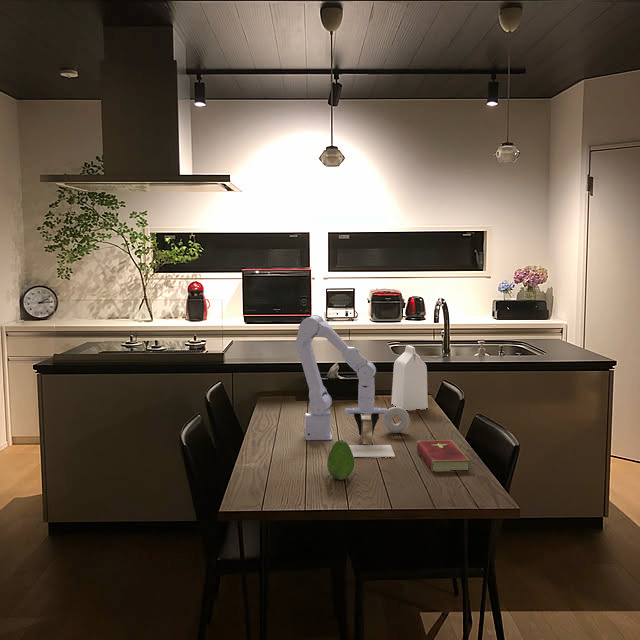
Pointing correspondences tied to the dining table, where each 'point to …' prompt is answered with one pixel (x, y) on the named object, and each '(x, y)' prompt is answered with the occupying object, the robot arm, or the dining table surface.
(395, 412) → the donut
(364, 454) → the mat
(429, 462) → the hardcover book
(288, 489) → the dining table surface
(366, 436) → the tan wooden block
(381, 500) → the dining table surface
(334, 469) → the fruit
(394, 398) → the milk
